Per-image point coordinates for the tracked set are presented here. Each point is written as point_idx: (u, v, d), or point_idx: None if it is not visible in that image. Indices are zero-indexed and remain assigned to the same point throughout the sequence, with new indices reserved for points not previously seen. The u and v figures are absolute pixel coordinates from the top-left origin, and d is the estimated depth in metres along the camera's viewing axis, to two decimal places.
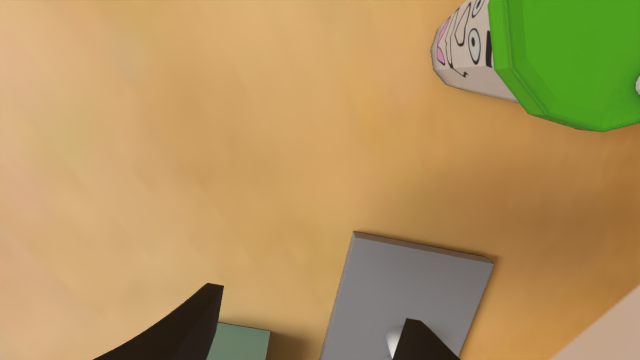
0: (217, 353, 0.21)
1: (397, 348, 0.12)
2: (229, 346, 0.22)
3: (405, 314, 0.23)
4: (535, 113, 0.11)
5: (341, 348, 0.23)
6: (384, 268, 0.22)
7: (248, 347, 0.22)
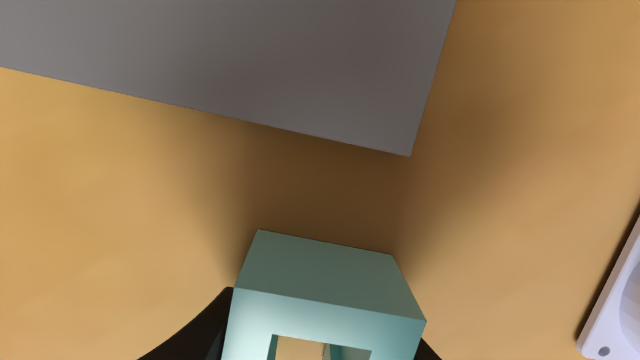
0: None
1: None
2: None
3: None
4: None
5: (268, 90, 0.10)
6: None
7: None
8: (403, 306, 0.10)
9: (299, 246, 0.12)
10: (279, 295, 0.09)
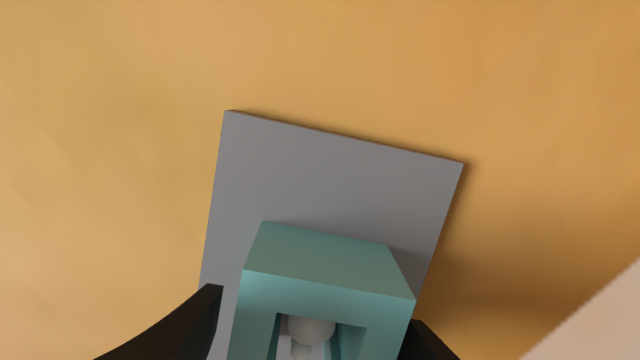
0: None
1: None
2: None
3: None
4: None
5: (220, 306, 0.15)
6: (279, 169, 0.13)
7: None
8: (395, 288, 0.11)
9: (301, 236, 0.13)
10: (283, 277, 0.10)
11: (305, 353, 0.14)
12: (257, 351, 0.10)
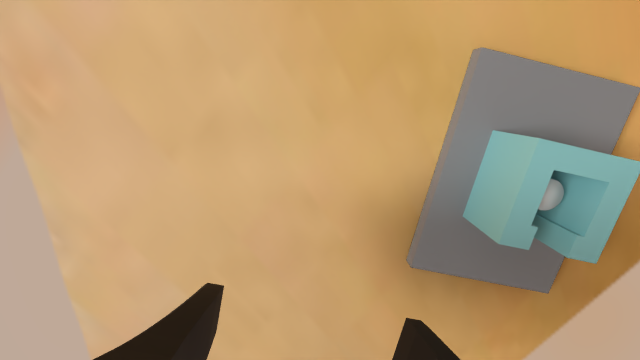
0: (501, 194, 0.17)
1: (397, 348, 0.12)
2: (497, 179, 0.18)
3: None
4: None
5: (451, 197, 0.20)
6: (512, 91, 0.18)
7: (503, 156, 0.17)
8: None
9: None
10: (564, 144, 0.15)
11: None
12: (535, 198, 0.16)
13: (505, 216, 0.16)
